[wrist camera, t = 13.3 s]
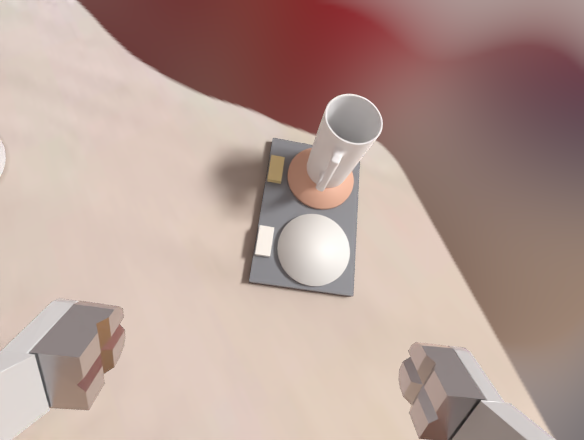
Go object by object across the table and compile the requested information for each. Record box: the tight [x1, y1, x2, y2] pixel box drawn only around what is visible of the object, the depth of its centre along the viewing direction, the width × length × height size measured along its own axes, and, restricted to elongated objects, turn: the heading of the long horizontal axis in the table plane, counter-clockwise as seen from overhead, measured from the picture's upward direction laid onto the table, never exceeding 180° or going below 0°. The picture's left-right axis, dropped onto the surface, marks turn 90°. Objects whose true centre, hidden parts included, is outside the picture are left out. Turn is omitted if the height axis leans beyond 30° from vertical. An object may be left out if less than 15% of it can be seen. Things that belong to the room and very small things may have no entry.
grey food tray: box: [249, 138, 360, 296], centre depth 42 cm, size 14×22×2 cm, turn 173°
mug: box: [307, 94, 383, 191], centre depth 38 cm, size 10×7×12 cm, turn 157°
